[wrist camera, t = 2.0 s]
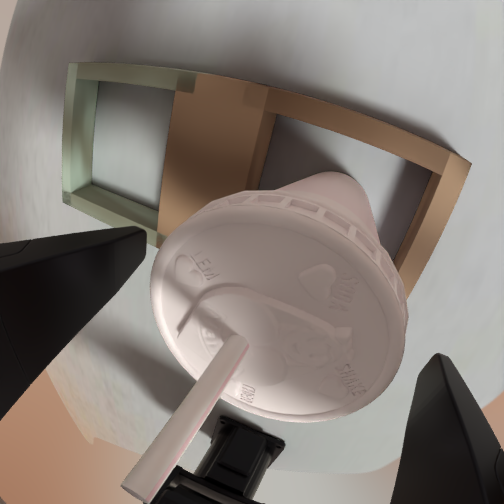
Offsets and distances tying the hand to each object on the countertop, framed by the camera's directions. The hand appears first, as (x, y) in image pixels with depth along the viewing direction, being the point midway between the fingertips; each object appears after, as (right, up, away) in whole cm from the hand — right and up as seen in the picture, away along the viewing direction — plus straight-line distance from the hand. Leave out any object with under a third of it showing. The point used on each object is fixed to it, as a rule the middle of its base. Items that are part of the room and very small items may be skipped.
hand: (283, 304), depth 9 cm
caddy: (-2, +6, +8) cm, 10 cm away
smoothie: (+3, +4, +7) cm, 8 cm away
